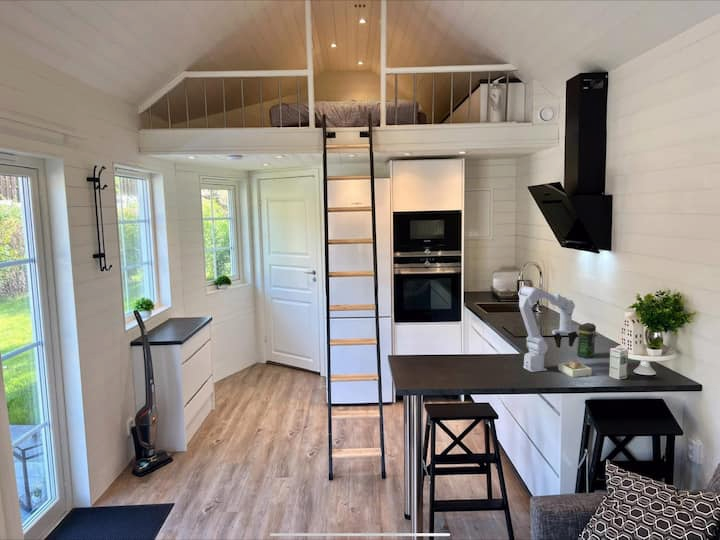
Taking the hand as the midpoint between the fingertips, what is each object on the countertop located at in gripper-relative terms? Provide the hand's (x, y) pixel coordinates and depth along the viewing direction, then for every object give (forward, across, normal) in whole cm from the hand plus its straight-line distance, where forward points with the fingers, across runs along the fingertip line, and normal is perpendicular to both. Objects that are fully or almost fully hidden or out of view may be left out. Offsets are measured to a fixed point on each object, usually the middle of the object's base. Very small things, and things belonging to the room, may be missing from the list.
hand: (564, 346), depth 265 cm
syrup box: (+10, +13, -24) cm, 29 cm away
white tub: (+10, -3, -12) cm, 16 cm away
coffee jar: (+10, +22, +10) cm, 26 cm away
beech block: (+9, -3, -13) cm, 16 cm away
